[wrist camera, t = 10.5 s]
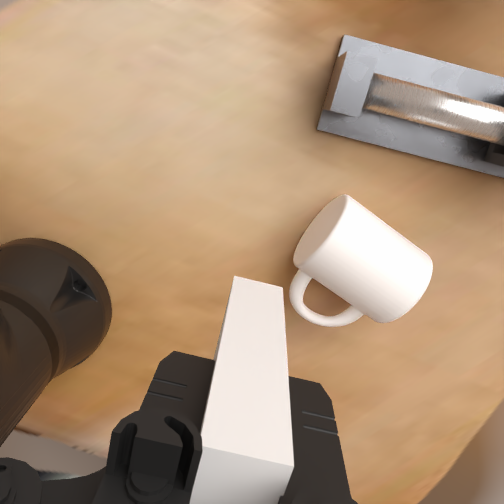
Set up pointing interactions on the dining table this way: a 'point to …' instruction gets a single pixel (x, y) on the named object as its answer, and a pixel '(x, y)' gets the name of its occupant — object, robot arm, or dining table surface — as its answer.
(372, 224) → the mug
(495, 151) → the collar
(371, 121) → the pipe rig
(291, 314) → the dining table surface
